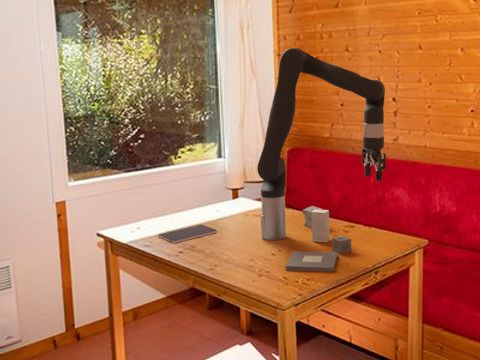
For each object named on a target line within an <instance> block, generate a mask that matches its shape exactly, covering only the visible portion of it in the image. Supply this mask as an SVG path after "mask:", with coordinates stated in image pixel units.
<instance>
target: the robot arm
mask: <svg viewBox="0 0 480 360" xmlns="http://www.w3.org/2000/svg"><path fill="white" fill-rule="evenodd" d="M277 74H278V75H277V82H276V83H277V84H276V88H275V91H274V94H273V99H272V103H271V107H270V111H269V117H268V121H267V128H266V132H265V138H264V143H263V147H262V152H261V154H260V157H259V160H258V162H257V174H258V176H259V178H260V179H262V180H263V183H262V186H261V189H260V197H261V215H260V225H261V239H262V240H267V241H279V240H283V239H286V237H287V231H286V228H287V227H286V205H285V204H286V201H285V189H286V173H287V172H286V164H285V161H284V159H283V157H281V156H282V152H283V151H282V149H283V148H284V145H285V142H286V141H287V138H288V136H289V134H290V132H291V129H292V125H293V123H294V118H295V114H296V104H297V103H296V102H297V101H296V90H297V85H298V84H297V83H298V81H299V77H300V75H301V74H306V75H311V76H314V77H317V78H318V79H320V80H323V81H325V82H326V83H328V84H330V85H332V86H334V87H336V88H339V89H341V90H344V91H348V92H351V93H353V94H355V95H357V96H360V97H362V98H363V99H365V108H364V113H363V116H364V117H363V129H362V131H363V133H362V134H363V136H362V140H363V142H362V146H363V148H362V149H361V165H363V167H364V176H365V177H366V178H369V177H371V176H372V167H371V166H373V167H374V169H375V181H376V182H381V181H382V180H383V171H385V170H387V163H386V162H387V159H386V158H387V157H386V156H387V155H386V153H385V152H384V153H382V151H381V150H382V149H384V148H385V125H384V124H385V121H384V120H385V119H384V116H385V115H384V114H385V113H384V104H385V97H386V96H385V95H386V91H385V90H386V88H385V84H384V83H383V82H382V81H381V80H378V79H371V78H368V77H364V76H361V74H359V73H358V72H355V71H352V70H350V69H346V68H343V67H341V66H338V65H334V64H332V63H329V62H326V61H323V60H321V59H319V58H317V57H315V56H313V55H312V54H310V53H308V52H306V51H304V50H303V49H302V48H299V47H292V48H291V47H290V48H288V49H285V50H284V51H283V52H282V54H281V55H280V58H279V66H278V73H277Z"/></svg>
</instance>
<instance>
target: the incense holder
mask: <svg viewBox="0 0 480 360" xmlns="http://www.w3.org/2000/svg"><path fill="white" fill-rule="evenodd" d="M313 210H324V209H323V208H320V207H317V206H314V205H311V206H308V207H306V208H305V209H302V214H303V215H304V219H305V220H304V223H303V225H304V227H308V228H312V218H311V212H312V211H313Z"/></svg>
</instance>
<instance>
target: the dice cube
mask: <svg viewBox="0 0 480 360" xmlns="http://www.w3.org/2000/svg"><path fill="white" fill-rule="evenodd" d="M331 245H332V246H331V248H332V249H331V250H332V251H331V252H338V254H339V255H343V254H347V253H351V252H352V238H350V237H349V236H346V235H340V236H339V235H338V236H334V237H331Z"/></svg>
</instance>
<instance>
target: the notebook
mask: <svg viewBox="0 0 480 360" xmlns="http://www.w3.org/2000/svg"><path fill="white" fill-rule="evenodd" d="M216 233H217V229H216V228H212V227H209V226H207V225H204V224H197V225H196V224H195V225H193V226H189V227H184V228H181V229H175V230H172V231H167V232H162V233H159V234H158V235H157V236H158V238H161V239H164V240H165V241H167V242H170V243H171V244H172V243H173V244H175V243H176V244H177V243H180V242H185V241H189V240H192V239H196V238H201V237H204V236H208V235H212V234H216Z"/></svg>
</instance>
